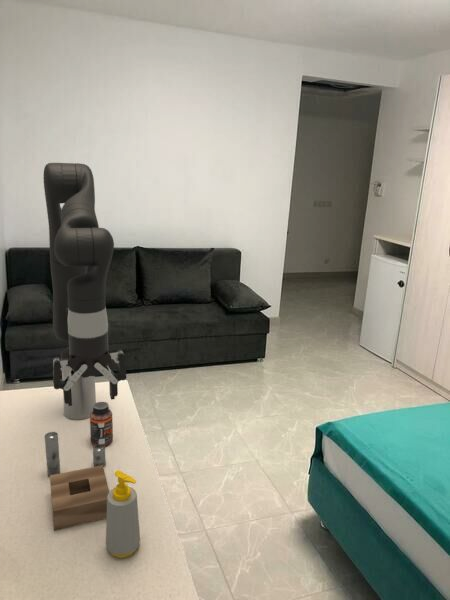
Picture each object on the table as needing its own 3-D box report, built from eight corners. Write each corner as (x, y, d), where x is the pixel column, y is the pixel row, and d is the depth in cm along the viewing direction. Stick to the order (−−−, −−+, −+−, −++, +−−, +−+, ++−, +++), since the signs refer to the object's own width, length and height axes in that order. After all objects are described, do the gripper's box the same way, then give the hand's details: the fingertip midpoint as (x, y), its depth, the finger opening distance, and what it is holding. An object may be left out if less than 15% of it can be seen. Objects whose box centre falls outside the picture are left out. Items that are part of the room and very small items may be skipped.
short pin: (92, 462, 125) (92, 446, 123) (104, 460, 126) (104, 443, 124) (94, 469, 122) (93, 452, 121) (106, 467, 123) (105, 450, 122)
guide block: (51, 493, 114) (49, 475, 112) (103, 482, 118) (102, 465, 116) (54, 530, 103) (52, 511, 102) (111, 517, 108) (110, 498, 106)
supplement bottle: (107, 449, 130) (106, 412, 127) (86, 445, 131) (85, 409, 128) (116, 436, 136) (115, 401, 132) (96, 433, 137) (95, 398, 133)
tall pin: (47, 471, 121) (44, 433, 118) (60, 468, 122) (57, 430, 119) (47, 478, 118) (44, 440, 115) (60, 476, 119) (58, 437, 116)
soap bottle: (124, 566, 95) (122, 491, 90) (98, 550, 99) (95, 476, 93) (147, 543, 101) (147, 471, 95) (122, 529, 104) (120, 458, 99)
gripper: (121, 318, 101) (122, 387, 107) (48, 325, 96) (53, 397, 102) (128, 332, 95) (129, 404, 100) (50, 340, 90) (56, 416, 95)
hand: (91, 400), depth 101 cm, fingers open, 8 cm apart
